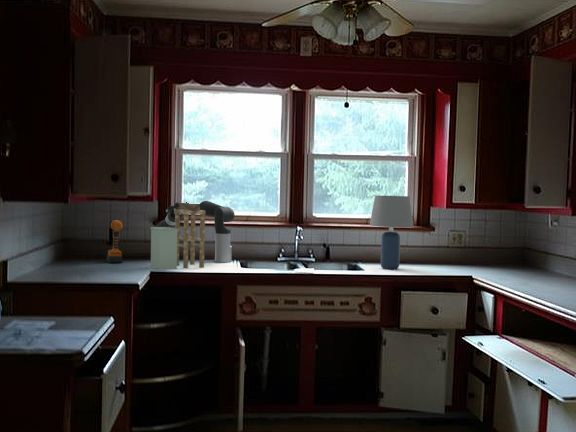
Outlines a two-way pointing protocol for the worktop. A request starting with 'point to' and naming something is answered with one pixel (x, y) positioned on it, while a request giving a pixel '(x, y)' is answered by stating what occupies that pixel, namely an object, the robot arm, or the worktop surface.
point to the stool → (190, 238)
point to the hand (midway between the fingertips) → (182, 203)
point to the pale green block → (164, 247)
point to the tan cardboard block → (189, 206)
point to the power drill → (115, 243)
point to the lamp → (391, 225)
